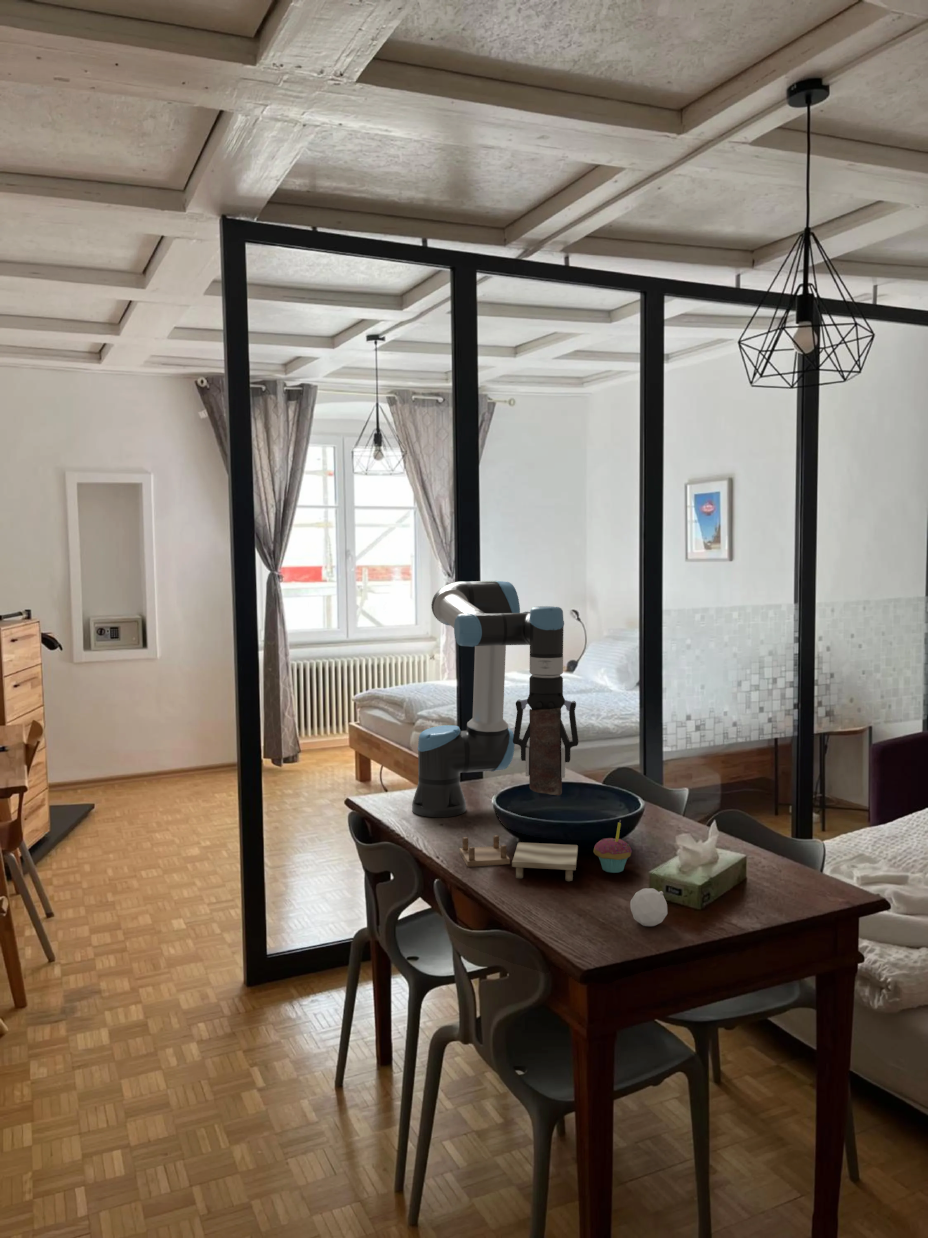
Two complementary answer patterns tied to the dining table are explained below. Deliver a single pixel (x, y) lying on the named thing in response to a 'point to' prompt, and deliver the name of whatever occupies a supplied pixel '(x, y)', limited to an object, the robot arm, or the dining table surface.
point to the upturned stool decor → (484, 854)
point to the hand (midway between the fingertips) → (545, 775)
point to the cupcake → (613, 853)
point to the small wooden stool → (545, 857)
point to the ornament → (648, 907)
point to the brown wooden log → (545, 751)
